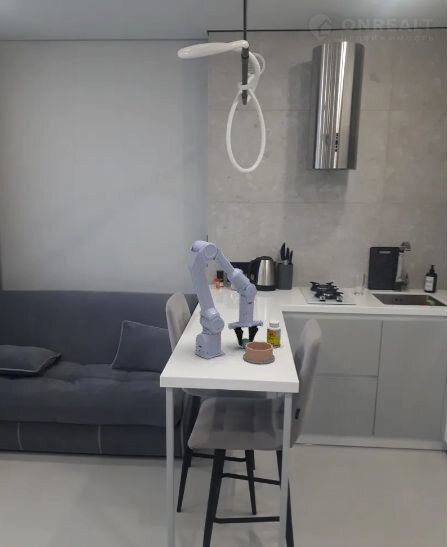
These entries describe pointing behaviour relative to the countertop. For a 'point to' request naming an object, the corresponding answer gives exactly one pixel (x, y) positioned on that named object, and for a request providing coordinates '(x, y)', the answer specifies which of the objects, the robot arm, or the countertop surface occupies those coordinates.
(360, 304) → the countertop surface
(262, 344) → the octagonal bowl
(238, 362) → the countertop surface
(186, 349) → the countertop surface
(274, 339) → the supplement bottle
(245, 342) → the ball
